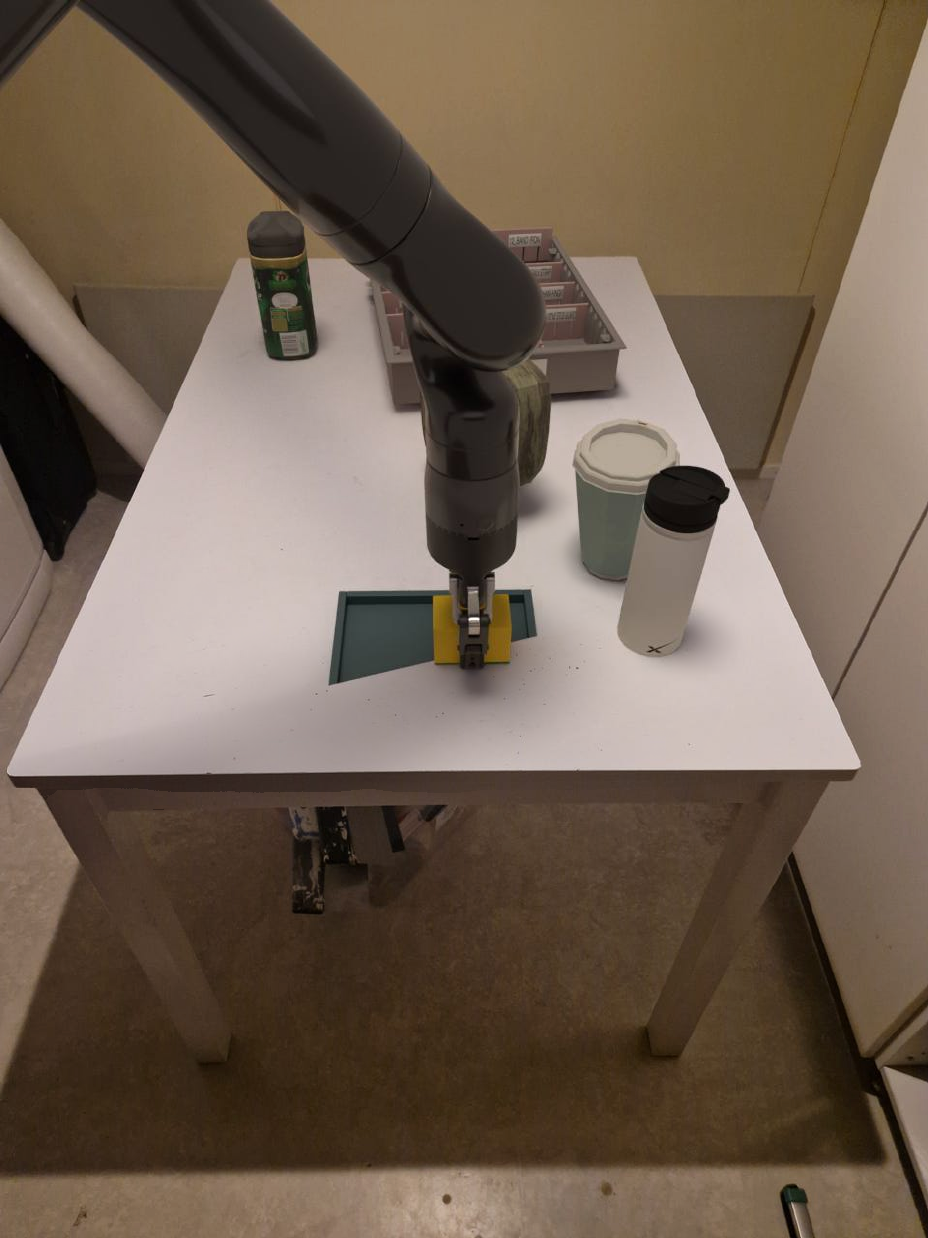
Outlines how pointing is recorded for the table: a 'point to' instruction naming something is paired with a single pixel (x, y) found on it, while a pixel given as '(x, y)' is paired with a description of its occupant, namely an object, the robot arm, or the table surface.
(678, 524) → the travel mug
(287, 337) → the coffee jar
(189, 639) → the table surface
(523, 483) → the tabletop clock
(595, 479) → the disposable coffee cup
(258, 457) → the table surface
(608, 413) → the table surface
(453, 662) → the sponge
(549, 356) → the organizer tray
